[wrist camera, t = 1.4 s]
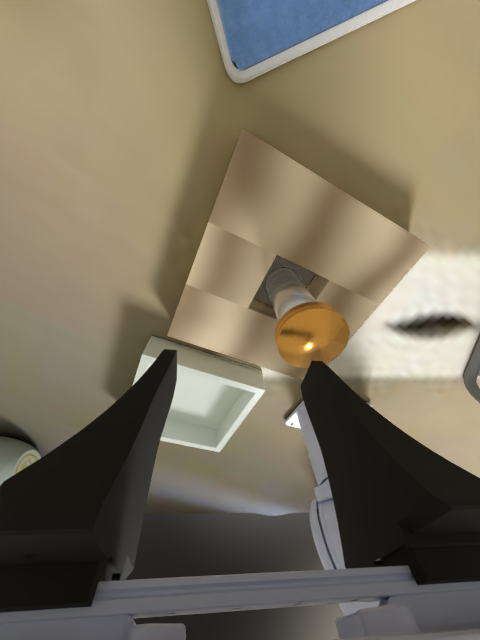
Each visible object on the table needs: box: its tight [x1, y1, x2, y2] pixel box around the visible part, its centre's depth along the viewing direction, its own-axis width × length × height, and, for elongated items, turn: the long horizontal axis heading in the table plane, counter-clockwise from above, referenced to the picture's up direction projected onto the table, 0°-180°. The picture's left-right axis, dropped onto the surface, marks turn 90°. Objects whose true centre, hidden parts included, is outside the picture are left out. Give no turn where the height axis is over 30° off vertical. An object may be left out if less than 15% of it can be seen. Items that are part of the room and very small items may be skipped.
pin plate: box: [167, 128, 430, 380], centre depth 20 cm, size 16×16×2 cm
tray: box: [132, 336, 265, 452], centre depth 26 cm, size 13×13×3 cm
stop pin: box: [265, 268, 350, 368], centre depth 17 cm, size 4×4×9 cm
